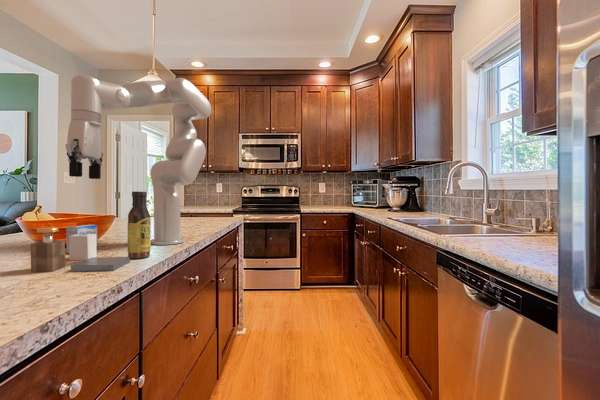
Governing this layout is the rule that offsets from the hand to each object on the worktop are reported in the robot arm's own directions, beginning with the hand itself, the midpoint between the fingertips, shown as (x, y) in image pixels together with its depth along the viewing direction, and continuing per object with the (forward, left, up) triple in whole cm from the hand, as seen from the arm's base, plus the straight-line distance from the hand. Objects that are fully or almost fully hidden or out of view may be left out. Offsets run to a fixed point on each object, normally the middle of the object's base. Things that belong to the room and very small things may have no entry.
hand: (85, 177), depth 97 cm
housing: (0, -1, -24) cm, 24 cm away
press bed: (+12, +10, -24) cm, 28 cm away
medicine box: (-11, -7, -24) cm, 28 cm away
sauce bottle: (0, +15, -24) cm, 28 cm away
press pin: (+14, -2, -20) cm, 24 cm away
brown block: (+14, -2, -24) cm, 28 cm away
